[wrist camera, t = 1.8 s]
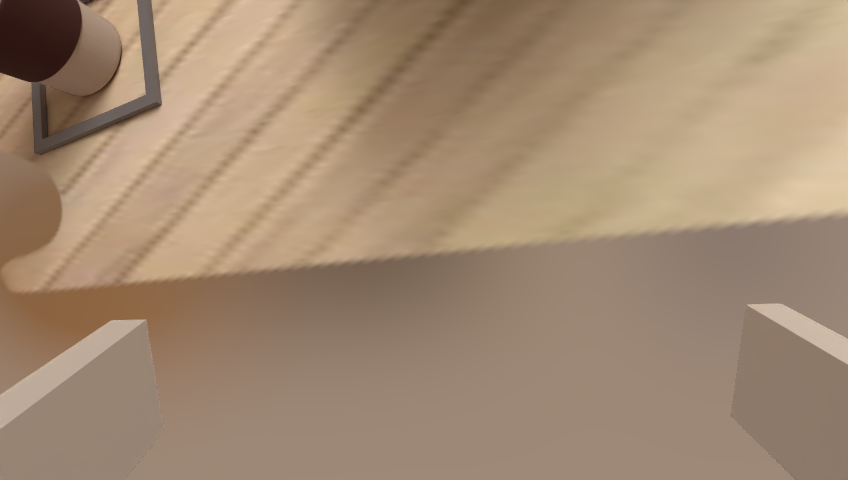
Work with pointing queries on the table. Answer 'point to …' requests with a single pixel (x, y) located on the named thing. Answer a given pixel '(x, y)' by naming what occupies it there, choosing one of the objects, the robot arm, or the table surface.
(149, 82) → the game board
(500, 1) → the table surface
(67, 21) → the coffee cup
